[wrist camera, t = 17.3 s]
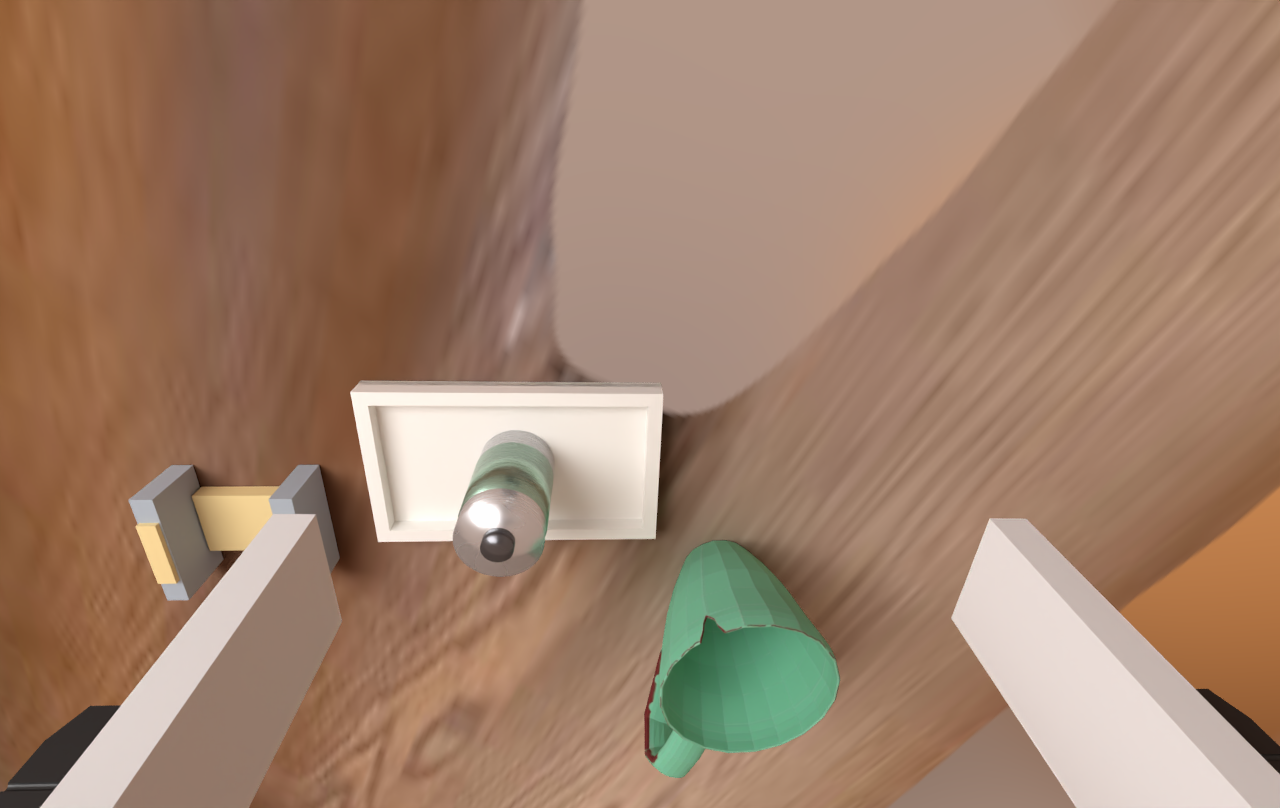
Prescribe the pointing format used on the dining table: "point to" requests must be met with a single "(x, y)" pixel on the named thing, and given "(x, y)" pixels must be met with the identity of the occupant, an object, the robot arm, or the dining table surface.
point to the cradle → (217, 521)
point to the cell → (506, 505)
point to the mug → (734, 663)
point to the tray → (476, 411)
